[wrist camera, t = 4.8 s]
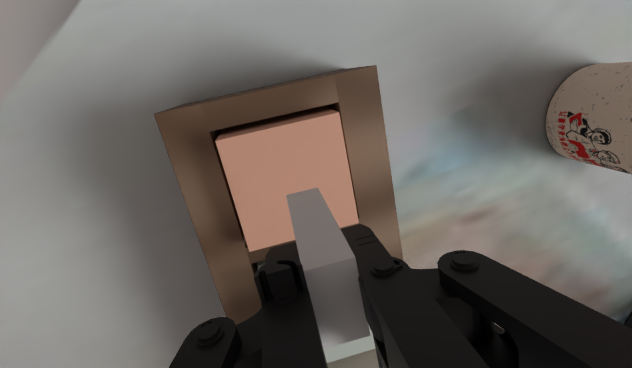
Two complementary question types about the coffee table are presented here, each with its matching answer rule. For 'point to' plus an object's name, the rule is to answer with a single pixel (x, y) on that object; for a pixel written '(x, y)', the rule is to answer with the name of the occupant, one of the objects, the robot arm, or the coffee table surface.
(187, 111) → the frame
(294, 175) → the pink square block
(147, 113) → the coffee table surface
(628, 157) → the teacup with lid
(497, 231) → the coffee table surface
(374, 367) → the cream key
